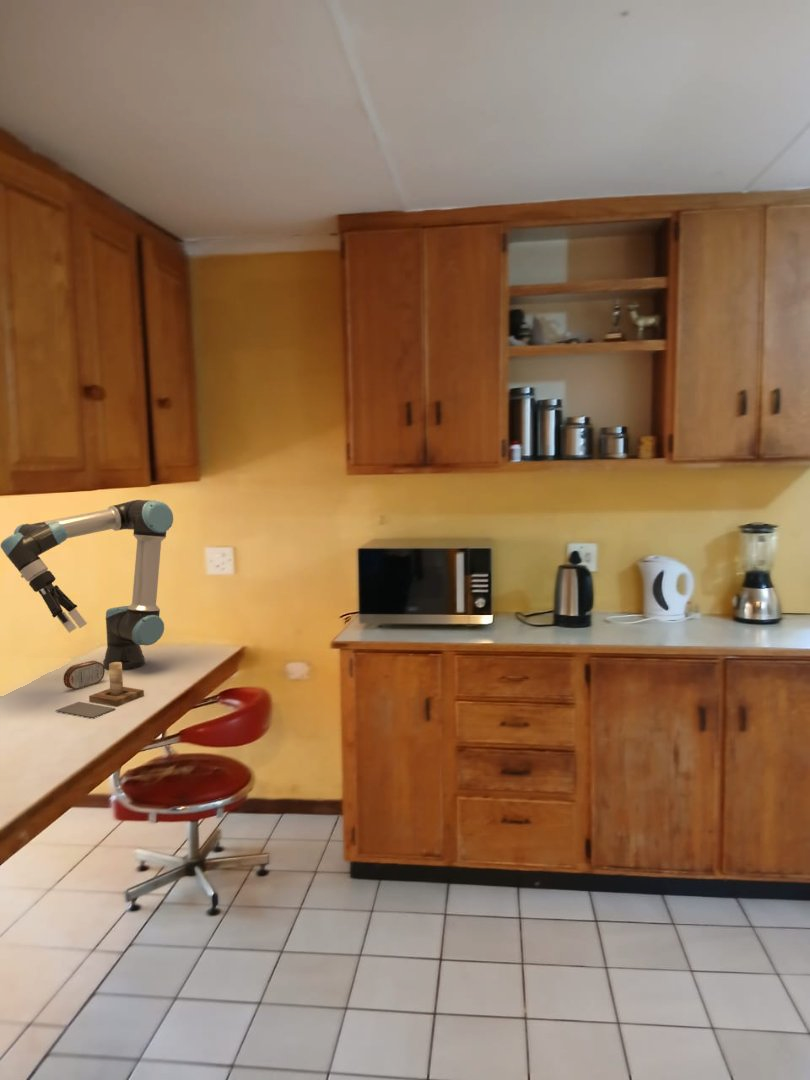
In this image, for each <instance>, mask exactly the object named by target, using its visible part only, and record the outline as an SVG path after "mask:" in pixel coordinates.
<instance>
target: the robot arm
mask: <svg viewBox="0 0 810 1080" xmlns="http://www.w3.org/2000/svg"><path fill="white" fill-rule="evenodd" d="M173 514H174V513H173V511H172V509H171V508H170V506H169V505H168V504H166V503H165V502H163V501H159V500H152V499H151V500H146V499H136V500H130V501H125V502H123V503H118V504H115V505H114V504H113V505H109V506H108V507H107V509H103V510H99V511H92V512H87V513H82V514H77V515H71V516H66V517H61V518H56V519H51V520H45V521H42V522H36V523H22V524H20V525H18V526H16V528H15V529H14V531H13V533H12V534H11V535H9V536H8V537H6V538H4V539H3V540H2V541H1V543H0V548H1V550H2V552H4V554H5V556H6V557H7V558H8V559H9V561H10V562H11V563H12V564H13V565H14V567H15V568H16V569H17V570H18V572H19V573H20V574H21V575H20V577H21V578H22V579H23V578H24V580H25V581H26V582H28V586H30V587H31V589H32V590H33V592H35V593H37V592H38V593H39V594H40V596H41V598H42V599H43V601H44V603H45V605H46V606H47V608H48V610H49V612H50V613H51V616H52V618H54V619H55V618H57V619H58V620H59V622H60V623H61V624H62V625H63V627H64V628H65V629H66V631H67V632H68V633H71V632H73V631H75V630H76V629H77V628H79V629H81V628H83V627H84V626H86V625H88V622H87V621H86V620H85V618H84V617H83V616H82V615H81V613H80V612H79V611H78V609H77V608H78V605H77V604H75V603H74V602H73V601H72V600H71V599H70V598H69V597H68V596H67V595H66V594H65V593H64V592H63V591H62V590H61V588H60V587H59V586H58V585H57V584H55V585H53V583H54V582H55V581H56V577H55V575H54V574H53V573H52V571H51V570H48V569H49V568H48V566H47V565H46V564H45V562H44V561H43V560H42V559H41V557H40V555H42V554H44V553H46V552H47V551H50V550H51V549H54V548H55V547H56V546H58V545H61V544H62V543H63V542H65V541H66V540H67V539H72V538H75V537H80V536H84V535H85V536H86V535H90V534H95V533H101V532H105V531H110V530H112V531H115V532H116V531H121V530H122V531H123V530H131V531H132V530H133V534H132V536H133V537H135V539H136V552H135V563H134V576H133V586H132V587H133V588H132V600H131V604H130V605H124V606H117V607H112V608H108V609H107V610H106V612H105V624H106V625H105V627H106V643H107V644H106V645H107V647H106V651H105V655H104V659H103V661H102V662H103V663H102V664H103V666H104V669H106V670H109V664H110V663H113V662H121V663H122V671H124V670H123V669H125V670H131V669H130V668H132V669H136V668H139V667H138V666H140V667H141V665H142V664H144V663H146V658H145V655H144V653H143V650H142V648H141V646H151V645H154V644H155V643H157V642H158V641H159V640H160V639H161V637H162V636H163V634H164V631H165V623H164V621H163V620H162V618H161V617H160V611H161V610H160V607H159V606H158V605H157V597H158V586H159V584H158V583H159V572H160V562H161V561H160V560H161V549H162V542H163V540H165V539H166V537H167V531H169V530H170V528H171V527H172V526H173V523H174V515H173ZM63 609H65V610H66V611H64V610H63ZM66 612H68V613H66ZM73 621H74V622H73ZM142 666H143V665H142ZM135 667H136V668H135Z"/></svg>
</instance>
